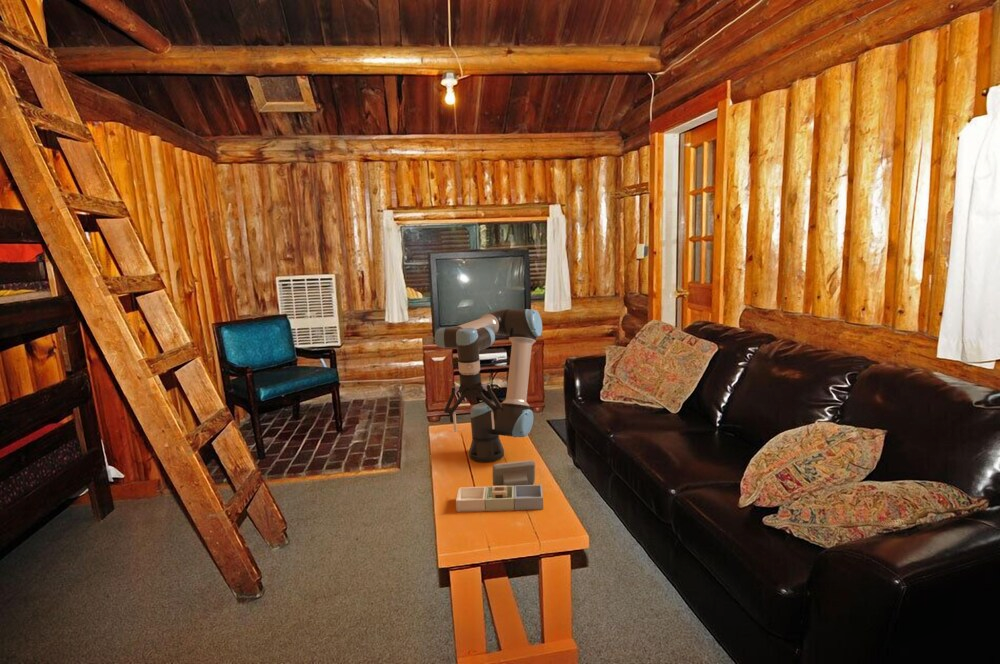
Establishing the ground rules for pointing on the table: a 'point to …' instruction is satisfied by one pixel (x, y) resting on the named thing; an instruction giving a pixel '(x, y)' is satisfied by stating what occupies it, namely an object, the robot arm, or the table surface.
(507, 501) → the box
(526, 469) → the digital clock
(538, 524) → the table surface
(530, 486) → the box
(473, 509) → the caddy cream
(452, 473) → the table surface
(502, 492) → the letter cube
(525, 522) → the table surface
